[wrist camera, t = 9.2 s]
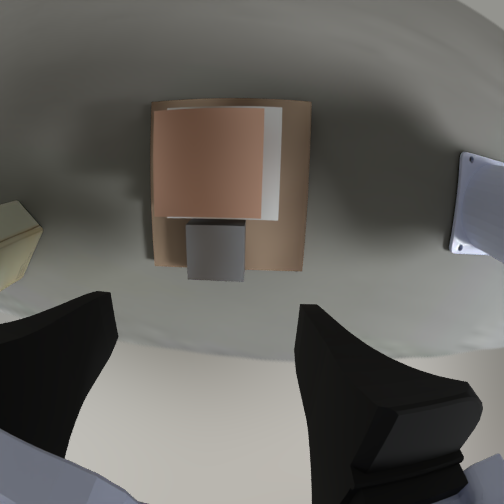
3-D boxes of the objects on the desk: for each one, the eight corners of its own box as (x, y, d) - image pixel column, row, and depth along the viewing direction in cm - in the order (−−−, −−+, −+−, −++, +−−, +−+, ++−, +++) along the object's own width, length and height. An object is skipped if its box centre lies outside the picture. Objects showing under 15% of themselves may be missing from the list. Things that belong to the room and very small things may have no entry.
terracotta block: (262, 122, 15) (264, 108, 10) (260, 199, 16) (260, 218, 11) (185, 123, 15) (154, 111, 10) (184, 197, 16) (154, 216, 11)
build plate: (309, 104, 18) (321, 92, 14) (300, 265, 21) (308, 290, 17) (156, 104, 18) (133, 94, 14) (159, 260, 21) (139, 283, 17)
